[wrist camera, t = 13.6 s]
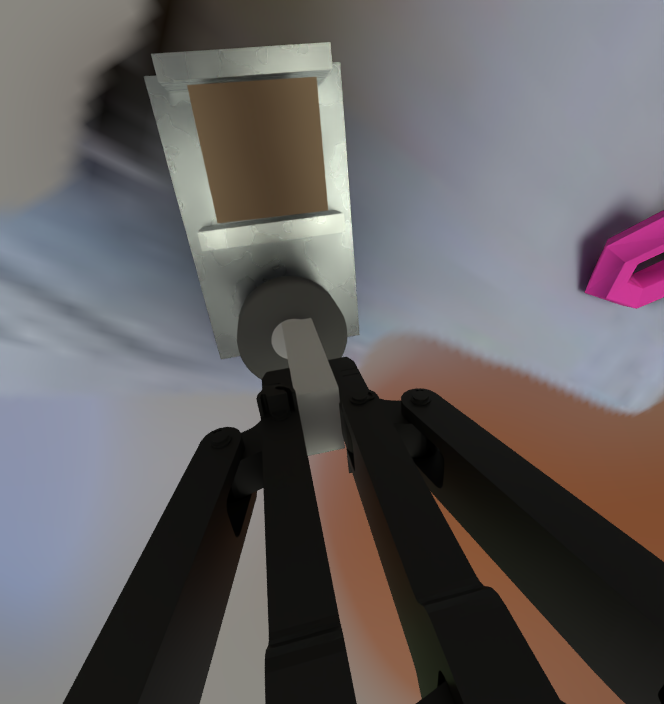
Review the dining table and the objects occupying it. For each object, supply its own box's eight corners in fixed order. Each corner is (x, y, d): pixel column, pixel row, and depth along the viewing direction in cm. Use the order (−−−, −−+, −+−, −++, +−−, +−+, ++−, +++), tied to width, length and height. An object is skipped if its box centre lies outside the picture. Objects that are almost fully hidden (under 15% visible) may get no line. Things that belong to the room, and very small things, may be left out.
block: (298, 103, 20) (316, 76, 14) (309, 201, 22) (328, 210, 17) (204, 110, 19) (186, 85, 14) (225, 211, 21) (217, 223, 16)
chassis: (332, 66, 21) (351, 40, 17) (352, 324, 28) (369, 349, 24) (151, 79, 20) (126, 55, 16) (222, 347, 27) (217, 377, 23)
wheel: (329, 262, 22) (342, 277, 19) (338, 351, 25) (351, 376, 21) (228, 277, 21) (224, 295, 18) (249, 367, 24) (249, 396, 21)
